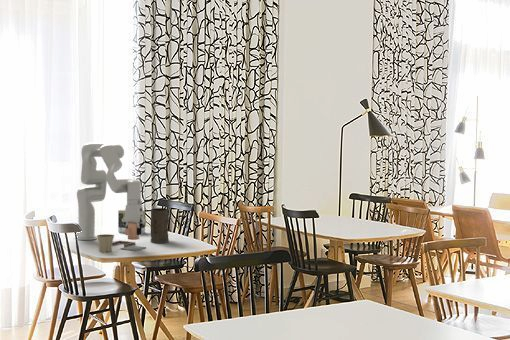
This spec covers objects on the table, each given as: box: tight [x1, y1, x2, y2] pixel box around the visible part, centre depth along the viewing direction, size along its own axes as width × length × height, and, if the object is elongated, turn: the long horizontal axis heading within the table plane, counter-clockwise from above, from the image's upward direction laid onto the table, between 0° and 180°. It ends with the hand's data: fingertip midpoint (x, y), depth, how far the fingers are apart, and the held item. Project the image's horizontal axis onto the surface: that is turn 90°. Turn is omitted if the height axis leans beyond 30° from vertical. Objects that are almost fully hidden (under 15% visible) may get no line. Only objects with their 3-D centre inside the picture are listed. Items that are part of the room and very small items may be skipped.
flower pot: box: [96, 233, 115, 253], centre depth 346 cm, size 9×9×9 cm
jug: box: [124, 223, 140, 241], centre depth 353 cm, size 10×6×9 cm, turn 156°
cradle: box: [112, 240, 136, 248], centre depth 366 cm, size 11×10×2 cm
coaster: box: [120, 245, 147, 252], centre depth 355 cm, size 10×10×1 cm
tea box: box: [117, 209, 146, 234], centre depth 413 cm, size 15×10×15 cm, turn 58°
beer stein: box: [150, 207, 170, 244], centre depth 380 cm, size 15×11×20 cm
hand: (133, 234), depth 355 cm, fingers closed on jug, 6 cm apart
